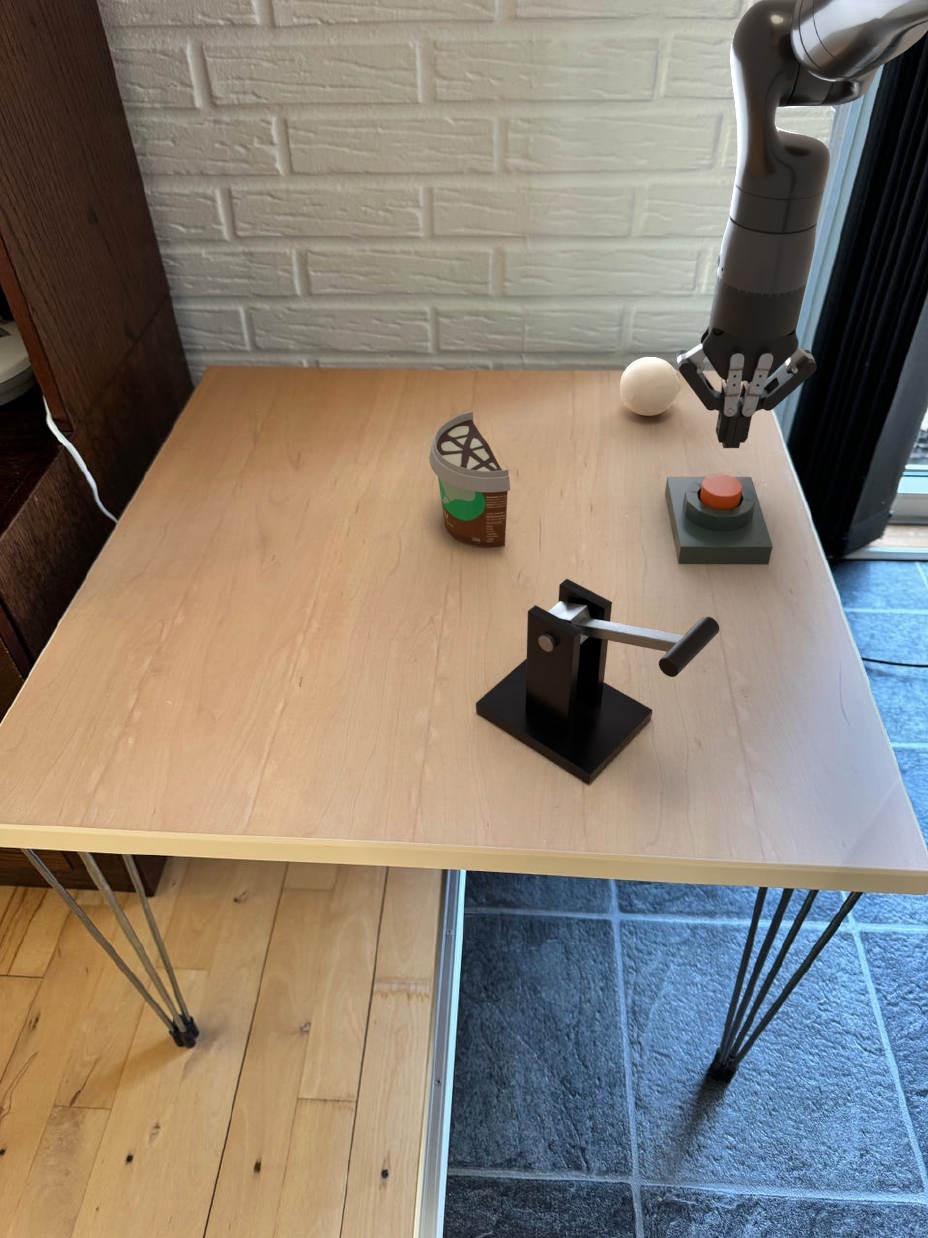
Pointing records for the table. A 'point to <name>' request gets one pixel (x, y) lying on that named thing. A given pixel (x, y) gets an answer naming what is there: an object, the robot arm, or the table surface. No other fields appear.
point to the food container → (470, 483)
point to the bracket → (566, 693)
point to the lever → (642, 635)
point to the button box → (716, 525)
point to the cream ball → (649, 386)
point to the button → (721, 492)
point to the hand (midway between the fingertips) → (729, 443)
